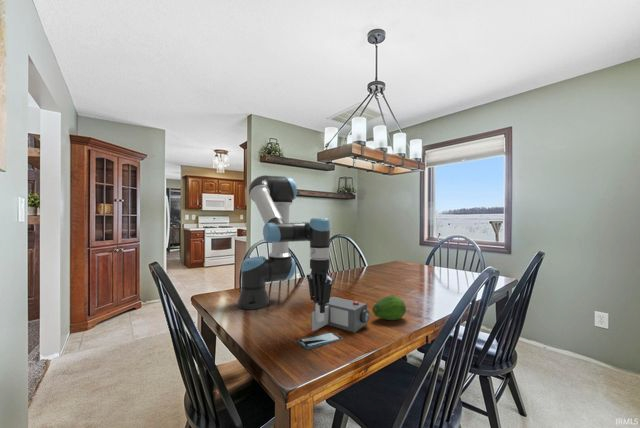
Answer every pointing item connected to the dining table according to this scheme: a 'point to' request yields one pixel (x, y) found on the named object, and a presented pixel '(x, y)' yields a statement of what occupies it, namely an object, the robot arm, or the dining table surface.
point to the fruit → (389, 308)
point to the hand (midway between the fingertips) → (319, 320)
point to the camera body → (347, 314)
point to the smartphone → (319, 340)
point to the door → (318, 325)
